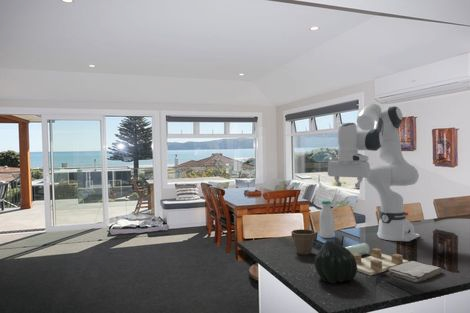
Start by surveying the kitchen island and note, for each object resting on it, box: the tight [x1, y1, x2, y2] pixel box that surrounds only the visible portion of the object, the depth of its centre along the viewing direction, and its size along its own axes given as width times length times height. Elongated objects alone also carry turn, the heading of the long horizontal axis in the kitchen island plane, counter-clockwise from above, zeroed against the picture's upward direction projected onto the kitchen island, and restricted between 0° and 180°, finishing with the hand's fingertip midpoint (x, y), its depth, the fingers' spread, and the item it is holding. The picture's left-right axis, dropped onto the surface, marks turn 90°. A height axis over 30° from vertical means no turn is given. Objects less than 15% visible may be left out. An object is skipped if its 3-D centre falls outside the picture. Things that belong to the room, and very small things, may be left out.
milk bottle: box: [319, 199, 335, 239], centre depth 191 cm, size 8×8×20 cm
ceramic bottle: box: [344, 242, 371, 256], centre depth 155 cm, size 18×5×5 cm, turn 120°
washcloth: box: [387, 260, 442, 283], centre depth 133 cm, size 12×18×3 cm, turn 123°
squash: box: [314, 240, 358, 284], centre depth 129 cm, size 14×15×15 cm
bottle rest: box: [353, 247, 410, 276], centre depth 143 cm, size 24×13×4 cm, turn 120°
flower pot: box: [290, 228, 317, 256], centre depth 163 cm, size 12×11×10 cm
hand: (348, 186), depth 161 cm, fingers open, 8 cm apart
